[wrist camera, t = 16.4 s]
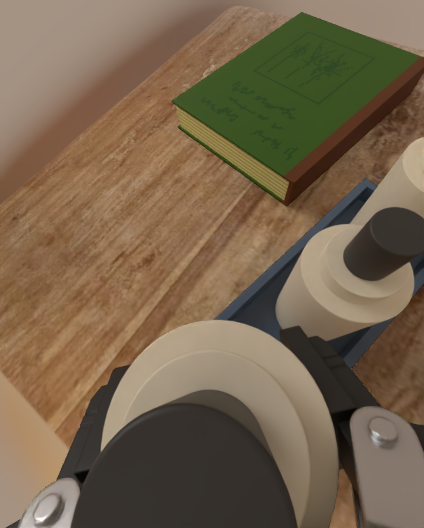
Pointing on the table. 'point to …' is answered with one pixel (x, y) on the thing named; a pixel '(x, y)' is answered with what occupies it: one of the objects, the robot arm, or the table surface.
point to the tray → (273, 279)
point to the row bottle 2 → (399, 186)
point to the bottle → (214, 438)
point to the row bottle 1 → (353, 275)
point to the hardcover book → (297, 102)
